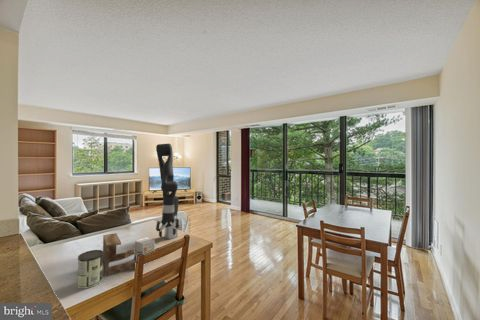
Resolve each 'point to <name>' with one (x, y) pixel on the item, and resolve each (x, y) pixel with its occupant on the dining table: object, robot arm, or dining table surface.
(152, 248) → the ink box
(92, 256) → the coffee can
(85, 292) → the dining table surface
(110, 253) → the shelf bay
